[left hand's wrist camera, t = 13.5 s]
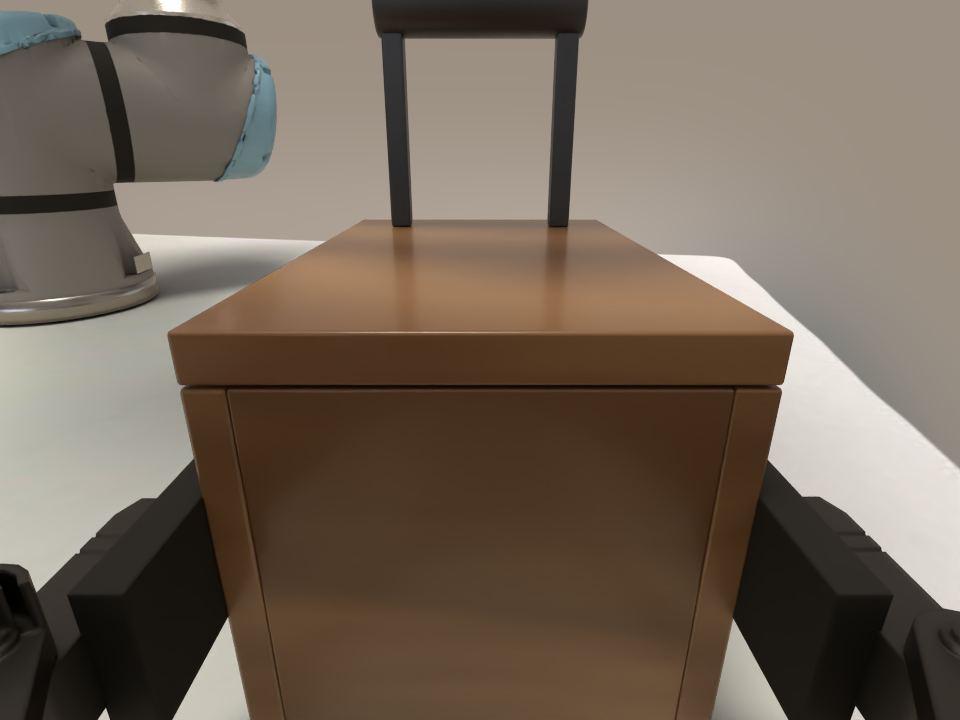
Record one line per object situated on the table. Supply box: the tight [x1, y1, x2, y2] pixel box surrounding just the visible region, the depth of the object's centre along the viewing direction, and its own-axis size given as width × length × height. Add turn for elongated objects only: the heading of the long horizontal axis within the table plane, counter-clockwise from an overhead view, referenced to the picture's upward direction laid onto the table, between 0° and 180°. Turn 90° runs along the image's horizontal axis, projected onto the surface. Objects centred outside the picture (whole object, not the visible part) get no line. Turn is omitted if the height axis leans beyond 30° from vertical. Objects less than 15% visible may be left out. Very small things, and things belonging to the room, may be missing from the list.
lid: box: [168, 0, 794, 385], centre depth 14 cm, size 15×10×9 cm, turn 0°
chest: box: [180, 385, 782, 720], centre depth 17 cm, size 15×10×10 cm, turn 0°
